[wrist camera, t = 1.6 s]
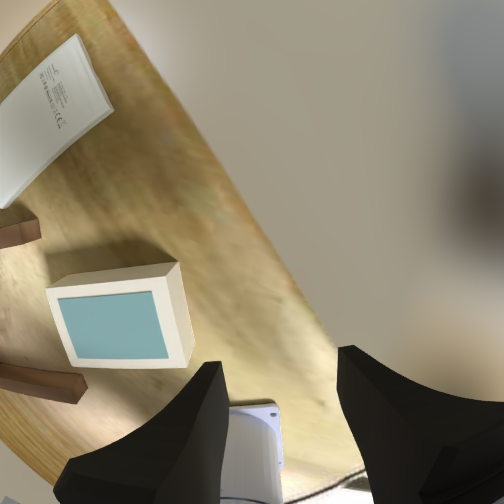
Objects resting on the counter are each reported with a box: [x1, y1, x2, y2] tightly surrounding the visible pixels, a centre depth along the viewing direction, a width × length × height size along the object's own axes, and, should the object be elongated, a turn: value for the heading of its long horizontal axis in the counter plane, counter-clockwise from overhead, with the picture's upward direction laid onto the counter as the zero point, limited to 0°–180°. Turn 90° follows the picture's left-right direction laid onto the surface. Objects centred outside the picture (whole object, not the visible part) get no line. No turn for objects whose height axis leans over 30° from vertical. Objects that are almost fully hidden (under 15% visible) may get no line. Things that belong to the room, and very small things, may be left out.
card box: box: [45, 261, 195, 369], centre depth 19 cm, size 6×9×4 cm, turn 97°
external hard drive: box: [0, 34, 114, 209], centre depth 17 cm, size 2×8×12 cm
